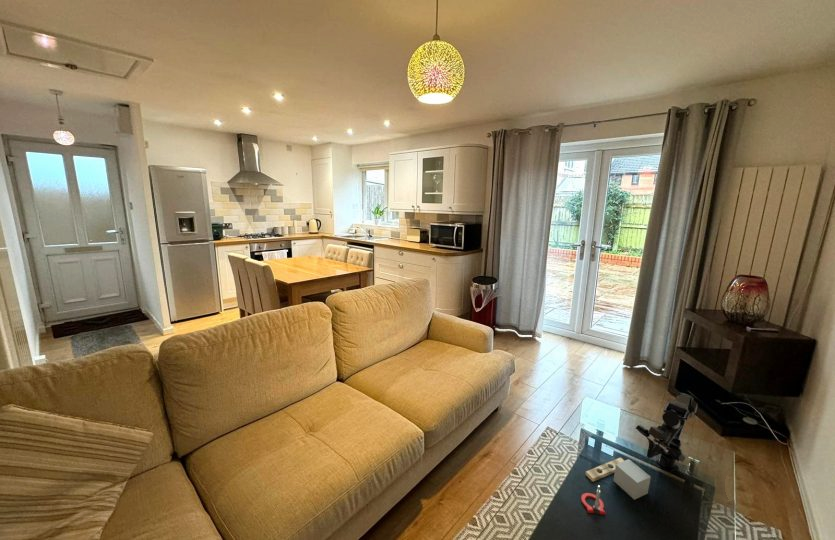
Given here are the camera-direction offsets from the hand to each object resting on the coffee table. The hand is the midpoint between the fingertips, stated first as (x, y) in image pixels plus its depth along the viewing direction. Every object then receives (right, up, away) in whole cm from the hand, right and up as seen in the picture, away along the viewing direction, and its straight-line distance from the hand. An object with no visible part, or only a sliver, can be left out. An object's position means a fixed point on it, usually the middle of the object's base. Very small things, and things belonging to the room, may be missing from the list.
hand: (647, 457), depth 144 cm
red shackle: (-28, -16, -7) cm, 33 cm away
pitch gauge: (-13, -11, +9) cm, 19 cm away
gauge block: (-8, -13, 0) cm, 15 cm away
